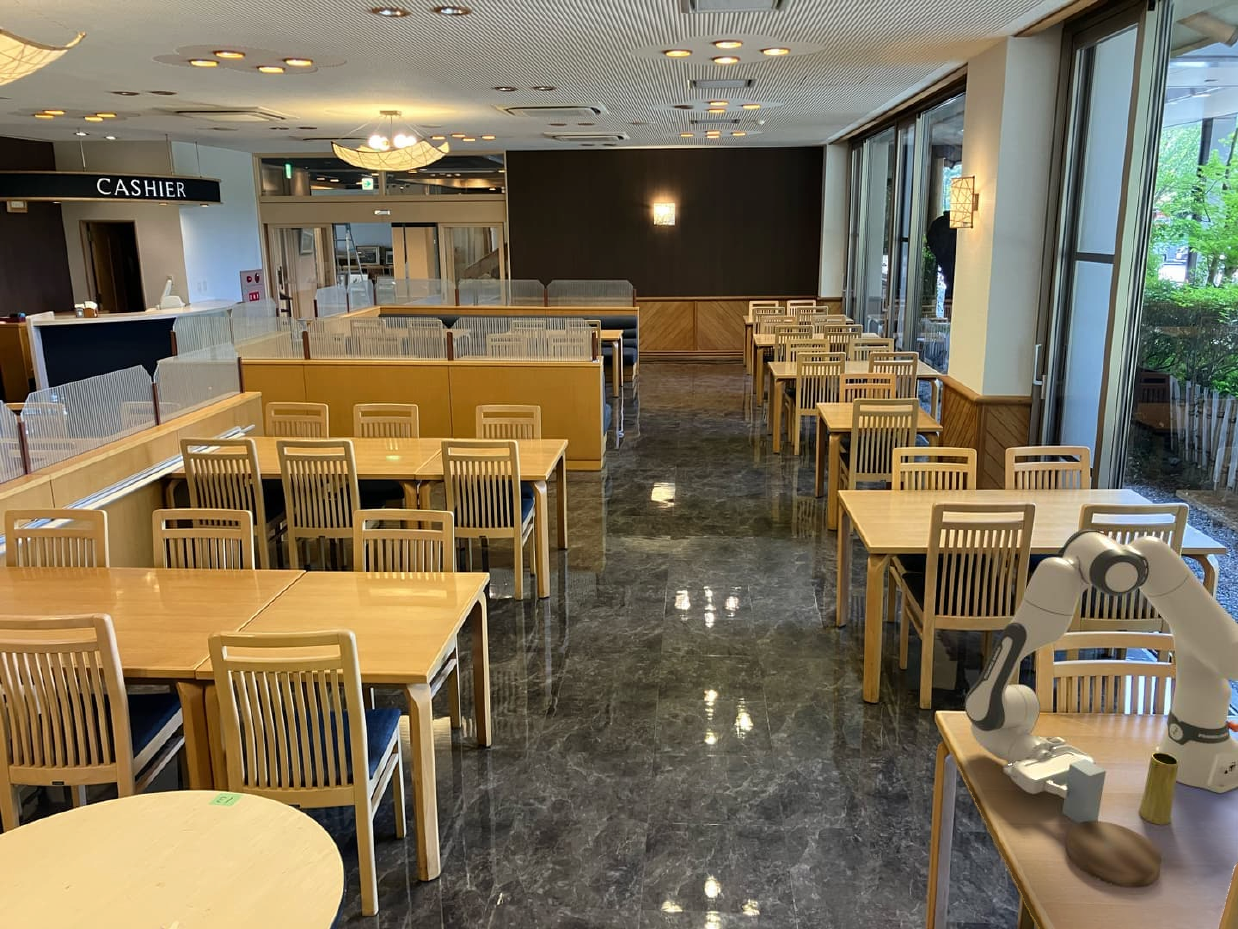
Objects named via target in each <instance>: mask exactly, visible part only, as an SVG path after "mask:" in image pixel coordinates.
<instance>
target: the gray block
mask: <svg viewBox="0 0 1238 929" xmlns="http://www.w3.org/2000/svg"><path fill="white" fill-rule="evenodd" d="M1106 772H1107V770H1105V768H1104V769H1103V767H1100V766H1099V765H1097V764H1096V765H1095V764H1094V763H1092V762H1090V761H1089V760H1087V759H1085V760H1081V761H1078V762H1075V763H1071V764H1070V767H1069V773H1068V779H1067V784H1066V785H1065V787H1067V788H1068V789H1070V796H1068V797H1066V798H1064V799H1063V807H1062V811H1061V812H1062V814H1064V816H1067V817H1068V818H1070V820H1072V821H1074V822H1075V823H1076V824H1078V823H1081V822H1086V821H1099V815H1100V814H1099V813H1100V809H1101V804H1102V802H1101V801H1102V796H1103V790H1104V785H1105V778H1106V774H1107V773H1106Z"/></svg>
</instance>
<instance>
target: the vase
mask: <svg viewBox="0 0 1238 929" xmlns="http://www.w3.org/2000/svg"><path fill="white" fill-rule="evenodd" d="M1178 765H1179V761H1178V759H1177V758H1175V757H1174V756H1172V755H1170V754H1167V753H1162V752H1155V751H1154V752H1152V753H1151V756H1150V761H1149V766H1148V771H1147V776H1146V782H1145V786H1144V791H1143V795H1142V798H1141V799H1142V800H1141V804H1140V807H1139V810H1138V814H1139V815H1140V817H1141V818H1142V819H1144V820H1146V821H1147V822H1148V823H1149V822H1150V823H1152V824H1155V825H1162V826H1163V825H1168V824H1170V822H1171V816H1172V809H1173V802H1174V796H1175V795H1174V794H1175V786H1176V782H1177V781H1176V775H1177V770H1178Z"/></svg>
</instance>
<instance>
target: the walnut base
mask: <svg viewBox="0 0 1238 929" xmlns="http://www.w3.org/2000/svg"><path fill="white" fill-rule="evenodd" d="M1065 846H1066V849H1065V850H1066V853H1067V855H1068V857H1069V859H1070V861H1072V862H1073V863H1074V865H1076V867H1077V868H1079V869H1080V870H1082V871H1083V872H1084V871H1085V872H1084V873H1086V872H1087V873H1088V875H1089V874H1090V875H1089V876H1091V877H1093V876H1094V877H1093V878H1095V877H1096V878H1095V879H1097V878H1099V879H1100V881H1102V882H1105V883H1107V884H1110V883H1112V884H1111V885H1114V884H1115V886H1118V885H1119V887H1125V888H1144V887H1148V886H1150V885H1152V884H1154V883H1155V882H1156V881H1157V880H1158V879H1159V877H1160V873H1161V866H1162V861H1163V860H1162V859H1163V858H1162V855H1161V852H1160V851H1159V849H1158V848H1157V846H1155V845H1154V843H1152V841H1150V840H1149V839H1148V838H1146V837H1145V836H1144V835H1141V834H1140V833H1139V832H1136V831H1134V830H1132V829H1130V828H1128V827H1125V826H1122V825H1119V824H1116V823H1112V822H1106V821H1099V820H1096V821H1086V822H1081V823H1076V824H1074V825H1072V827H1071V828H1070V829H1069V830H1068V834H1067V840H1066V845H1065ZM1087 873H1086V874H1087ZM1099 879H1098V880H1099Z"/></svg>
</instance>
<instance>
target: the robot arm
mask: <svg viewBox="0 0 1238 929" xmlns="http://www.w3.org/2000/svg"><path fill="white" fill-rule="evenodd" d="M1057 553H1058V554H1057V556H1056V557H1055V556H1052V557H1047V558H1044V559H1043V560H1042V561H1040V562H1039V563H1038V565H1037V567H1036V568H1035V570H1034V572H1033V574H1032V575H1031V578H1030V579H1029V583H1028V584H1027V587H1026V589H1025V592H1024V595H1023V598H1022V600H1021V603H1020V604H1019V607H1018V609H1017V611H1016V613H1015V614H1014V616H1013V618H1012V619H1011V620H1010V622H1009V623H1008V624H1007V625H1006V627H1005V628H1004V629H1003V630H1002V632H1001V633H1000V634H999V637H998V638H997V640H996V643H995V644H994V646H993V648H992V650H991V653H990V654H989V657H988V659H987V661H986V662H985V666H984V667H983V669H982V671H981V674H980V676H979V677H978V679H977V681H976V682H975V683H974V684H973V686H972V687H971V688H970V689H969V691H967V693H966V696H965V700H964V711H965V713H966V717H967V718H968V720H969V721H970V723H971V724H970V725H971V728H970V730H971V734H972V736H973V738H974V739H975V741H976V742H977V743H978V744H979V746H981V747H982V748H983V749H985V750H986V751H987V752H988V753H989V754H991V755H992V756H993V757H996V758H998V759H1000V760H1003V761H1005V762H1006V764H1004V766H1003V769H1002V770H1003V773H1005V774H1006V775H1008V776H1009V777H1010V778H1011V780H1012V781H1013V782H1014V783H1015V784H1016V785H1017V786H1019V788H1021V789H1022V790H1024V792H1026V793H1029V794H1033V795H1035V794H1038V793H1041V792H1045V791H1046V792H1048V793H1050V794H1054V795H1059V796H1060V797H1062V798H1066V797H1068V796H1070V789H1068V788H1067V787H1066V785H1067V779H1068V773H1069V767H1070V764H1071V763H1075V762H1078V761H1081V760H1085V759H1087V760H1089V761H1090V762H1092V763H1094V764H1095V765H1097V763H1096V760H1095V759H1094V758H1093V757H1092V756H1090V755H1089V754H1088V753H1086V752H1084V751H1082V750H1081V749H1079V748H1077V747H1075V746H1074V745H1072V744H1066V740H1065V739H1063V738H1062V737H1042V736H1035V735H1034V734H1031V733H1032V732H1033V731H1034V729H1035V726H1036V724H1037V722H1038V719H1039V718H1040V717H1039V716H1040V715H1041V714H1040V713H1041V701H1040V700H1039V697H1038V695H1037V693H1035V691H1034V690H1033V689H1032V688H1031V687H1030V686H1028V685H1026V684H1010V682H1011V680H1012V678H1013V677H1014V674H1015V672H1016V670H1017V668H1018V666H1019V664H1020V663H1021V661H1022V660H1023V659H1024V658H1026V657H1027V656H1028V655H1030V654H1031V653H1034V652H1035V651H1037V650H1039V649H1041V648H1044V647H1046V646H1049V645H1051V644H1054V643H1056V642H1058V641H1059V640H1061V639H1062V638H1063V637H1064V636H1065V635H1066V632H1068V629H1069V628H1070V626H1071V624H1072V620H1073V618H1074V614H1075V612H1076V609H1077V606H1078V601H1079V599H1080V598H1081V596H1082V595H1083V593H1085V591H1086V590H1087V589H1088V588H1090V586H1092V587H1094V588H1095V589H1096V590H1097V591H1099V592H1101V593H1103V594H1105V595H1109V596H1113V597H1120V596H1125V595H1127V594H1131V593H1132V592H1133V591H1135V590H1136V589H1139V590H1140V591H1141V593H1142V594H1143V595H1144V597H1145V598H1146V599H1147V600H1148V601H1149V603H1150V604H1151V605H1152V607H1153V608H1154V609H1155V611H1156V612H1157V613H1158V614H1159V615H1160V616H1161V618H1162V619H1163V621H1165V623H1167V625H1168V626H1169V627H1168V628H1169V630H1170V632H1171V636H1172V639H1173V646H1174V657H1175V669H1176V681H1175V689H1174V695H1173V700H1172V706H1171V708H1169V711H1168V714H1167V720H1166V725H1165V727H1164V729H1163V733H1162V736H1161V739H1160V742H1159V746H1156V747H1155V750H1154V753H1155V752H1162V753H1167V754H1170V755H1172V756H1174V757H1175V758H1177V759H1178V761H1179V765H1178V770H1177V775H1176V781H1175V782H1178V783H1180V784H1184V785H1186V786H1191V787H1196V788H1201V789H1204V790H1208V791H1211V792H1215V793H1218V794H1223V793H1225V792H1229V791H1230V790H1234V789H1236V788H1238V741H1237V740H1236V739H1235V738H1234V737H1233V736H1231V734H1230V730H1231V731H1232V732H1233V733H1238V723H1236V722H1235V721H1233V720H1230V721H1228V715H1229V709H1230V705H1231V700H1232V687H1231V685H1230V682H1229V681H1232V682H1233V681H1234V682H1238V623H1237V621H1236V620H1234V619H1233V617H1232V616H1231V615H1230V614H1229V612H1227V610H1226V609H1225V608H1224V607H1223V606H1222V605H1221V604H1220V603H1219V602H1218V601H1217V600H1216V599H1215V598H1214V597H1213V596H1212V594H1211V593H1210V592H1209V591H1208V590H1207V588H1206V587H1205V586H1204V585H1203V584H1202V582H1201V581H1200V579H1198V577H1197V576H1196V574H1195V573H1194V572H1193V571H1192V569H1191V568H1190V567H1189V566H1188V564H1187V563H1186V562H1185V560H1183V558H1182V557H1181V556H1180V555H1179V554H1178V553H1177V552H1176V551H1175V550H1174V549H1173V548H1172V547H1170V546H1169V544H1167V543H1166V542H1165V541H1163V540H1162V538H1159V537H1157V536H1153V535H1145V536H1139V537H1138V538H1136V539H1133V540H1132V541H1131V542H1129V543H1127V544H1122V543H1120V542H1119V541H1117V540H1115V539H1113V538H1111V537H1110V536H1108V535H1106V533H1103V532H1101V531H1099V530H1095V529H1091V528H1089V529H1080V530H1078V531H1075V532H1074V533H1073V534H1072V535H1071V536H1070V537H1069V538H1068V539H1067V541H1065V543H1064V545H1063V546H1062V547H1061V548H1060V549H1059V551H1058V552H1057Z"/></svg>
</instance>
